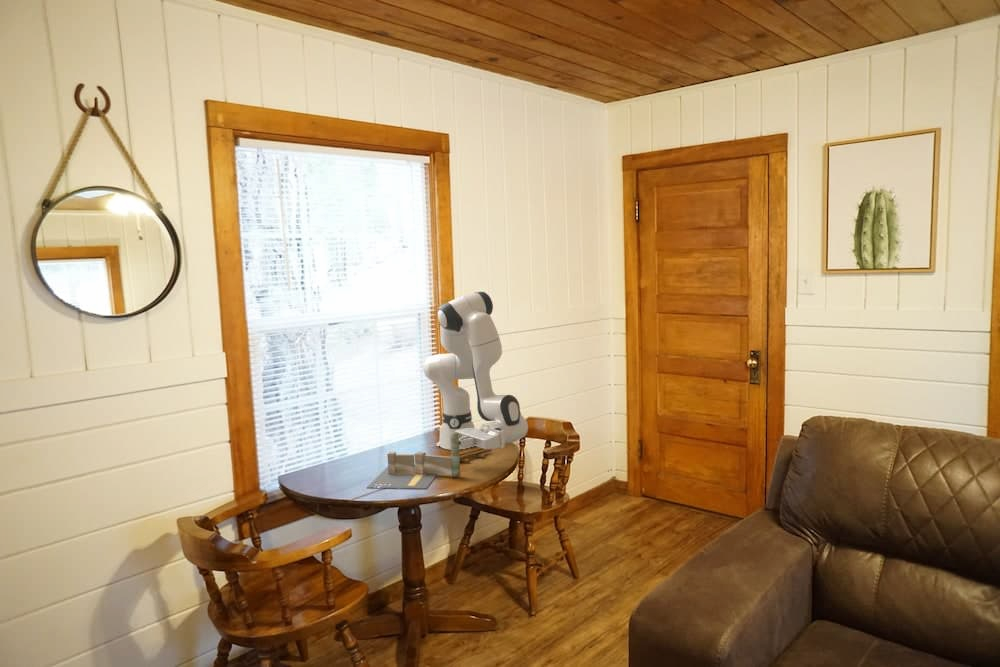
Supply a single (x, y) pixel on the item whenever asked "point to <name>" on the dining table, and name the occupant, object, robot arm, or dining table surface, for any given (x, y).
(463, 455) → the decorative fence
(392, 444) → the dining table surface
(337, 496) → the dining table surface
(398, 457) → the fixed fence section
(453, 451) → the swinging fence section
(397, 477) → the board
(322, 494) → the dining table surface
